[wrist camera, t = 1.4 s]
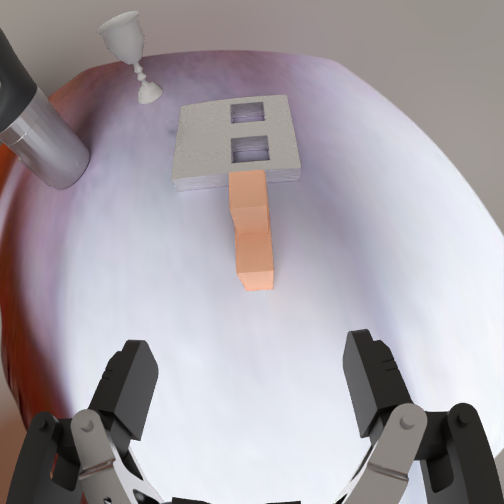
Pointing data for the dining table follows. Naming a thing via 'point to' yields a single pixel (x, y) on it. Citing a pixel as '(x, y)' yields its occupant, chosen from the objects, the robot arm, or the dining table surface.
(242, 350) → the dining table surface
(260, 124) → the plate
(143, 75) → the chalice
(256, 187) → the clip
